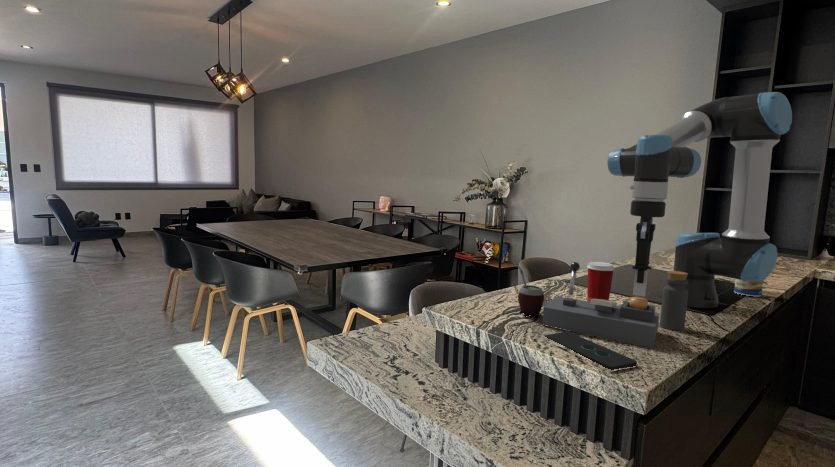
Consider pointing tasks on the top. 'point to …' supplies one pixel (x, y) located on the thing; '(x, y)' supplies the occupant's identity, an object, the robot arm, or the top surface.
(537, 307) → the mate gourd
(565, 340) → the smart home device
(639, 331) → the console
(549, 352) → the top surface
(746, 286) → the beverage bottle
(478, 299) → the top surface
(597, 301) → the plate
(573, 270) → the toggle lever
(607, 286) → the paper cup
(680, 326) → the bottle
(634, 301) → the push button
